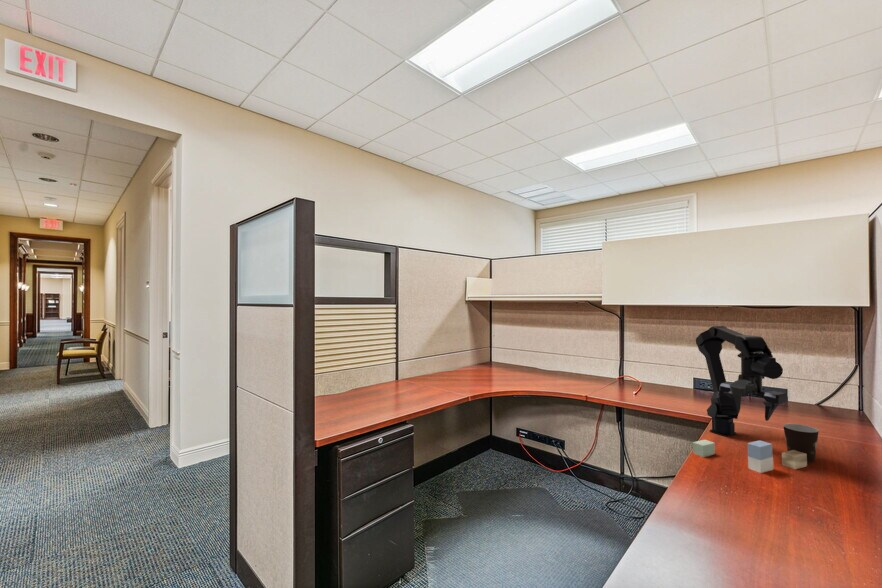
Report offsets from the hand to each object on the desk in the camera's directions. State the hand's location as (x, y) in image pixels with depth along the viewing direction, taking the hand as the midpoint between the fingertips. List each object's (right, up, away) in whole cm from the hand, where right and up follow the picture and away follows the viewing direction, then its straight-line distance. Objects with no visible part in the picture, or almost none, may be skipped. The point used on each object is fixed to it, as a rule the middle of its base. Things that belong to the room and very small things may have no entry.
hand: (752, 416), depth 137 cm
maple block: (+3, -12, -13) cm, 18 cm away
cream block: (-9, -12, -15) cm, 21 cm away
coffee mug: (+12, -12, -7) cm, 18 cm away
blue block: (-9, -8, -15) cm, 19 cm away
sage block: (-18, -12, -2) cm, 22 cm away
